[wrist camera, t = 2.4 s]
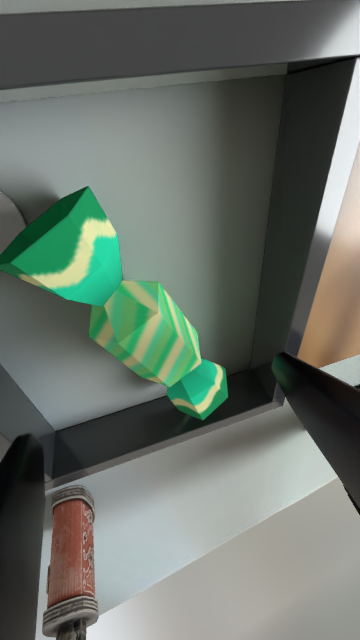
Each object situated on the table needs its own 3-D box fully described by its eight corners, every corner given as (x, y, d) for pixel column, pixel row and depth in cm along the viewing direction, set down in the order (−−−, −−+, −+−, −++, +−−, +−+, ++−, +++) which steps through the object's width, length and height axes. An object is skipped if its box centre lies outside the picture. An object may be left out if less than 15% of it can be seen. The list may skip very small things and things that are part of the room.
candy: (-20, 267, 8) (27, 259, 6) (48, 203, 10) (110, 175, 7) (164, 404, 16) (220, 428, 14) (187, 358, 18) (242, 371, 15)
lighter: (44, 493, 21) (23, 705, 13) (88, 481, 22) (91, 672, 14) (63, 525, 26) (55, 694, 18) (98, 514, 26) (105, 670, 19)
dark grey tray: (317, 29, 8) (404, -6, 6) (260, 373, 20) (283, 406, 18) (-297, 72, 6) (-549, 37, 3) (46, 443, 17) (41, 493, 15)
